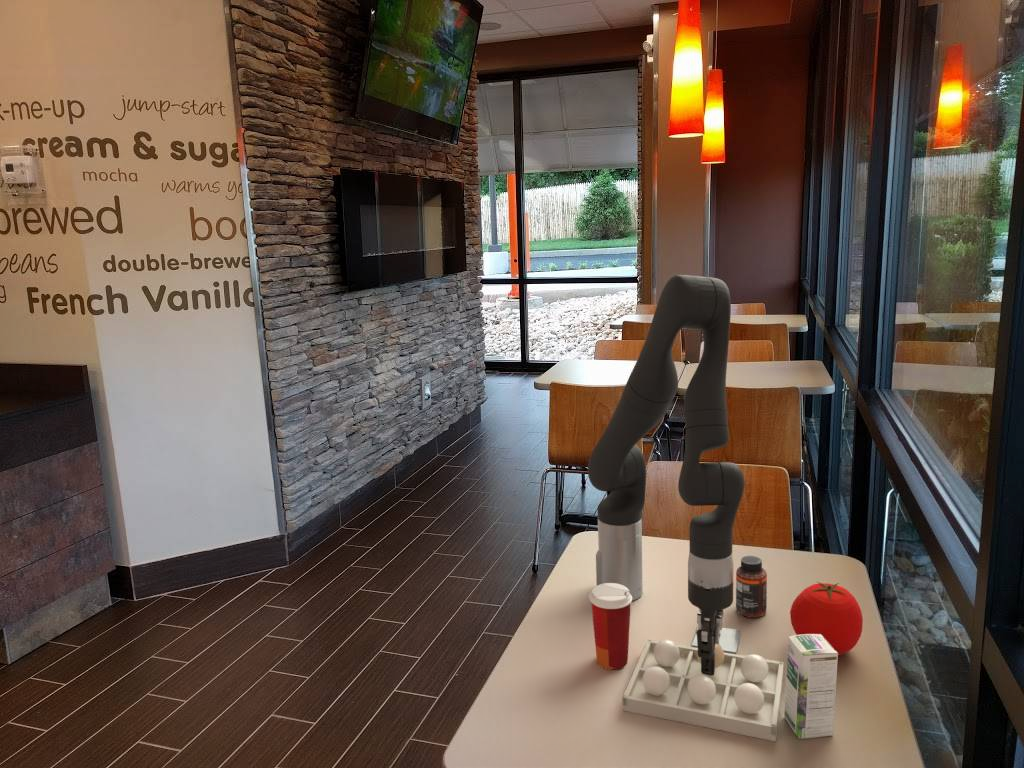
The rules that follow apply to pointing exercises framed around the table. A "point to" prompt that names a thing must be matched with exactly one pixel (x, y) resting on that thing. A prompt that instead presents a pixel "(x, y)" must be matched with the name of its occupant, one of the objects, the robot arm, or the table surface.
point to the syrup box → (810, 685)
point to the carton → (729, 711)
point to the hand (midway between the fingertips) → (710, 665)
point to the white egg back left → (666, 653)
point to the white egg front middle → (701, 689)
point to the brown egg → (716, 656)
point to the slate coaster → (725, 640)
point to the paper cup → (611, 624)
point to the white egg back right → (754, 668)
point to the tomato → (828, 615)
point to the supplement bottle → (751, 587)
